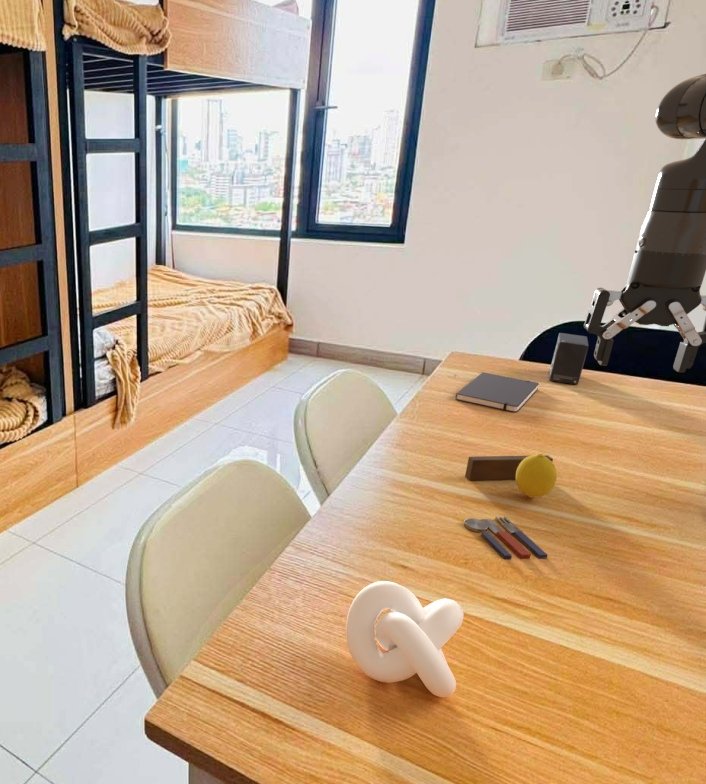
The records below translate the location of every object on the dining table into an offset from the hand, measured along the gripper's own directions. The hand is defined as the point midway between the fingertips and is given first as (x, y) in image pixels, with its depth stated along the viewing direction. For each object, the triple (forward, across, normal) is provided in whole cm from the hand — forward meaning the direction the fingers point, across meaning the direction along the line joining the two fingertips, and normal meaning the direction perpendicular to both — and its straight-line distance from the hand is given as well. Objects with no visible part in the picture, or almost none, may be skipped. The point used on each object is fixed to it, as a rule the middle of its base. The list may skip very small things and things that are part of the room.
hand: (639, 367), depth 86 cm
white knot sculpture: (+26, +26, +42) cm, 56 cm away
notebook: (+26, +7, -62) cm, 67 cm away
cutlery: (+26, +13, +8) cm, 30 cm away
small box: (+26, -10, -82) cm, 87 cm away
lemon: (+26, +7, -8) cm, 28 cm away
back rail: (+26, +10, -14) cm, 31 cm away
